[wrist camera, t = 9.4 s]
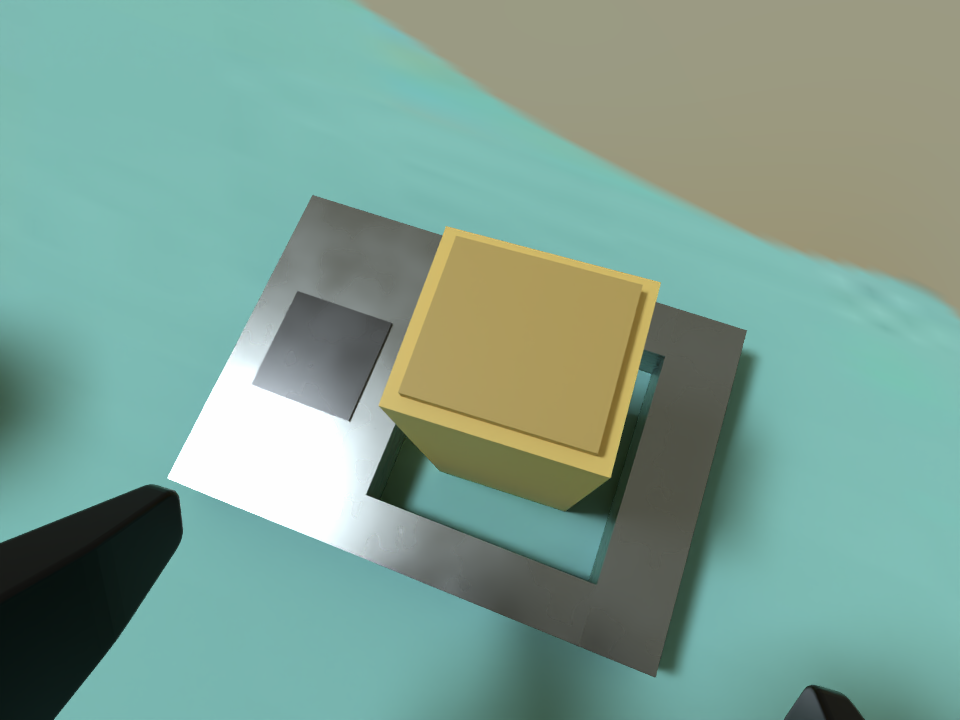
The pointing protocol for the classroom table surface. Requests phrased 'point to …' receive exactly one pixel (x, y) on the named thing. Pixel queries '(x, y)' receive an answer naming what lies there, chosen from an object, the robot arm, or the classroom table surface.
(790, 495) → the classroom table surface
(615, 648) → the grey metal flat frame
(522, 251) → the yellow square block
